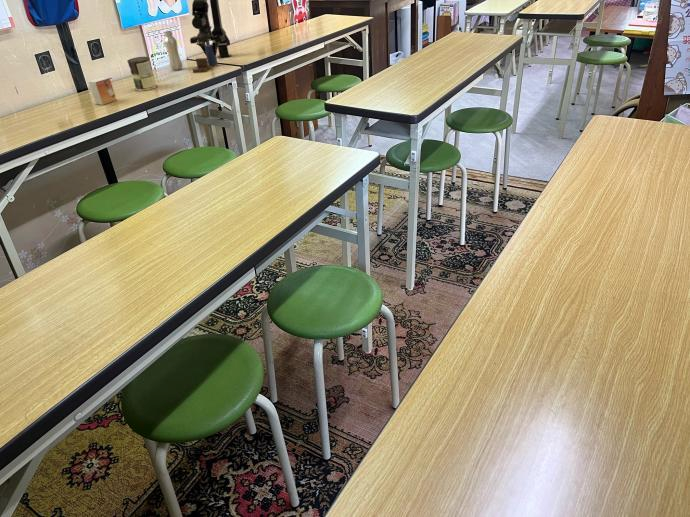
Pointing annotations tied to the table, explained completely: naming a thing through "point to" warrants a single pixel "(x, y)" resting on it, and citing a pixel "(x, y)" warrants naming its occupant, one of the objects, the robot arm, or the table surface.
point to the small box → (102, 90)
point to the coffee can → (142, 73)
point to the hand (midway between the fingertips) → (211, 55)
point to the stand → (201, 65)
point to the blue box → (210, 55)
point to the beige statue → (172, 51)
